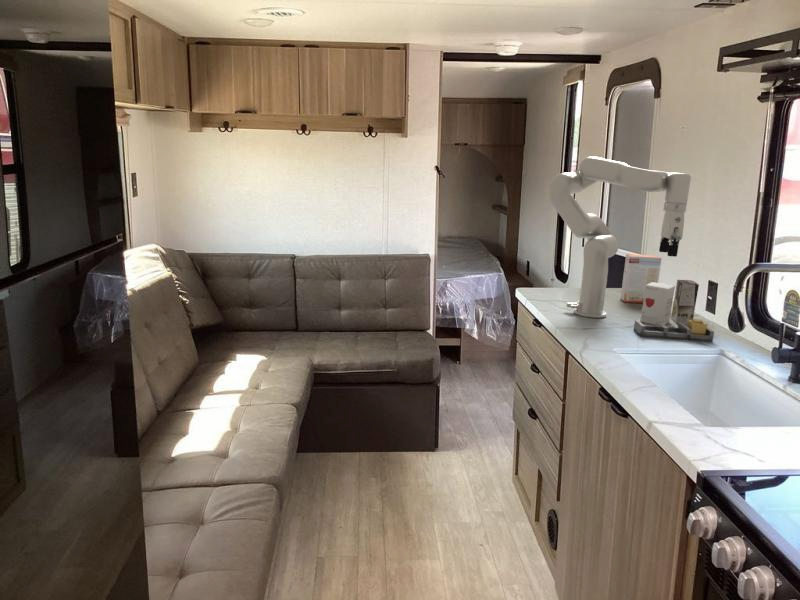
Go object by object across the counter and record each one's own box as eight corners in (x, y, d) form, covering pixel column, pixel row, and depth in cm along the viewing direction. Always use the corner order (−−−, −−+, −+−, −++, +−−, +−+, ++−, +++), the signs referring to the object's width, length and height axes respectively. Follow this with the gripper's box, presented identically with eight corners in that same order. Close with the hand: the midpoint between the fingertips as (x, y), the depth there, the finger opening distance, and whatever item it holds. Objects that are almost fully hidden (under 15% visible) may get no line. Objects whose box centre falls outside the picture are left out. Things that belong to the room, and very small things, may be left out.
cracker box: (650, 301, 290) (657, 255, 285) (655, 304, 284) (662, 257, 279) (619, 299, 290) (625, 253, 285) (623, 302, 284) (630, 255, 280)
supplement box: (639, 321, 252) (644, 284, 248) (646, 317, 259) (651, 281, 255) (663, 326, 246) (669, 288, 243) (669, 322, 253) (675, 285, 250)
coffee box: (692, 325, 252) (699, 284, 248) (675, 323, 253) (681, 283, 249) (687, 319, 260) (694, 280, 256) (670, 317, 261) (676, 278, 258)
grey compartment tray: (640, 336, 230) (641, 326, 229) (633, 330, 239) (635, 319, 238) (712, 342, 228) (714, 331, 227) (702, 335, 237) (704, 324, 236)
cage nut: (704, 337, 230) (707, 322, 229) (690, 336, 230) (692, 321, 229) (699, 333, 235) (702, 319, 234) (685, 332, 235) (687, 318, 234)
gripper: (694, 210, 225) (686, 258, 229) (677, 206, 241) (670, 251, 245) (672, 209, 225) (664, 257, 229) (657, 204, 242) (650, 249, 246)
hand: (667, 254), depth 237 cm, fingers open, 9 cm apart
